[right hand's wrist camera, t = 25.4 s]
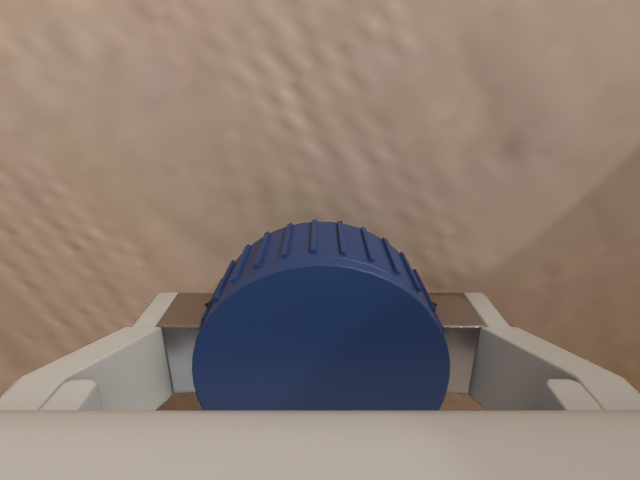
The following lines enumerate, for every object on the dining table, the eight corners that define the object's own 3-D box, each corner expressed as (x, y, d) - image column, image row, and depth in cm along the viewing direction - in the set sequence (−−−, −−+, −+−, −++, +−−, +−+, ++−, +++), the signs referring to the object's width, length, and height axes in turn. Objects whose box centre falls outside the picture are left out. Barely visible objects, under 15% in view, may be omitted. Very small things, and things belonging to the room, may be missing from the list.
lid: (358, 422, 12) (367, 502, 9) (185, 351, 11) (150, 422, 8) (467, 278, 10) (510, 335, 8) (271, 177, 9) (254, 209, 7)
